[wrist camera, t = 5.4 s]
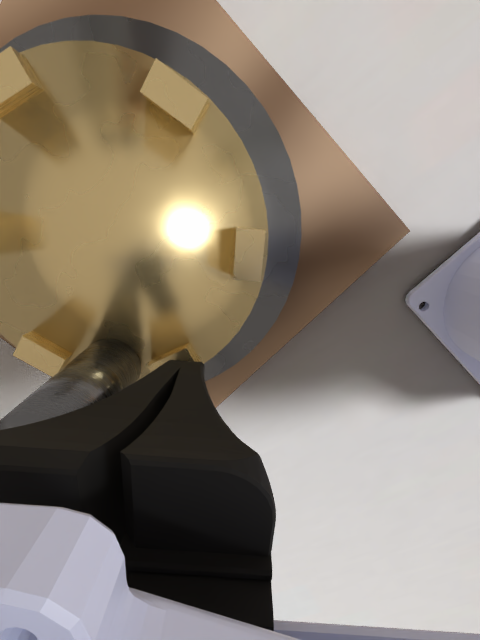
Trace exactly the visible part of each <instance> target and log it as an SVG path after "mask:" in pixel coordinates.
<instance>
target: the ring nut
mask: <svg viewBox="0 0 480 640" xmlns="http://www.w3.org/2000/svg"><path fill="white" fill-rule="evenodd" d="M267 256H268V222H267V211H266V206H265V201H264V197H263V192H262V187H261V184H260V181H259V179H258V176H257V173H256V170H255V167H254V164H253V162H252V160H251V158H250V156H249V154H248V152H247V150H246V148H245V146H244V144H243V142H242V140H241V139H240V137H239V136H238V134H237V133H236V131H235V130H234V128H233V127H232V125H231V124H230V122H229V121H228V119H227V118H226V117H225V115H224V114H223V113H222V112H221V111H220V110H219V109H218V107H217V106H216V105H215V104H214V103H213V102H212V100H211V99H210V98H209V97H208V96H207V95H205V94H204V93H203V92H202V91H201V90H200V89H199V88H198V87H196V86H195V85H194V84H193V83H192V82H191V81H190V80H188V79H187V78H185V77H184V76H183V75H181V74H180V73H178V72H177V71H175V70H174V69H172V68H171V67H169V66H168V65H166V64H164V63H162V62H161V61H159V60H158V59H157V58H156V59H154V58H152V57H150V56H148V55H146V54H144V53H141V52H138V51H135V50H132V49H129V48H126V47H123V46H119V45H115V44H109V43H103V42H97V41H61V42H55V43H49V44H43V45H39V46H36V47H33V48H31V49H28V50H25V51H22V52H18V51H17V50H15V49H14V48H13V47H11V46H10V47H8V48H7V49H5V50H4V51H2V52H1V53H0V334H1V335H2V336H4V337H5V338H6V339H7V340H8V341H9V342H10V343H12V344H13V345H14V346H16V349H15V351H14V354H13V356H15V357H17V358H18V359H20V360H22V361H24V362H26V363H28V364H29V365H31V366H33V367H35V368H37V369H39V370H40V371H42V372H44V373H46V374H48V375H50V376H51V377H52V378H50V379H49V380H48V381H47V382H46V383H44V384H43V385H42V386H41V387H40V388H38V389H37V390H36V391H35V392H34V393H32V394H31V395H30V396H29V397H28V398H26V399H25V400H24V401H23V402H22V403H20V404H19V405H18V406H17V407H16V408H14V409H13V410H12V411H11V412H10V413H8V414H7V415H6V416H5V417H4V418H2V419H1V420H0V430H3V429H8V428H13V427H18V426H23V425H27V424H31V423H35V422H39V421H42V420H46V419H50V418H53V417H56V416H60V415H63V414H66V413H69V412H72V411H74V410H77V409H80V408H83V407H85V406H88V405H91V404H93V403H96V402H98V401H100V400H102V399H105V398H107V397H109V396H111V395H113V394H115V393H117V392H119V391H121V390H123V389H124V388H126V387H128V386H129V385H131V384H133V383H135V382H136V381H138V380H140V379H141V378H143V377H144V376H146V375H147V374H149V373H151V372H152V371H154V370H155V369H157V368H158V367H159V366H161V365H162V364H164V363H165V362H167V361H169V360H181V361H196V362H202V363H203V364H204V363H205V362H207V361H208V360H210V359H211V358H213V357H214V356H215V355H216V354H217V353H219V352H220V351H221V350H222V349H223V348H224V347H225V346H226V345H227V344H228V343H229V342H230V341H231V340H232V338H233V337H234V336H235V335H236V334H237V332H238V331H239V330H240V329H241V327H242V326H243V324H244V322H245V321H246V319H247V318H248V316H249V314H250V313H251V310H252V308H253V306H254V304H255V302H256V299H257V297H258V295H259V292H260V288H261V285H262V282H263V278H264V274H265V268H266V262H267Z"/></svg>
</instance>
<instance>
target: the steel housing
mask: <svg viewBox="0 0 480 640" xmlns="http://www.w3.org/2000/svg"><path fill="white" fill-rule="evenodd" d="M61 41H97V42H103V43H109V44H115V45H119V46H123V47H126V48H129V49H132V50H135V51H138V52H141V53H144V54H146V55H148V56H150V57H152V58H154V59H156V58H157V59H158V60H159V61H161V62H162V63H164V64H166V65H168V66H169V67H171V68H172V69H174V70H175V71H177V72H178V73H180V74H181V75H183V76H184V77H185V78H187V79H188V80H190V81H191V82H192V83H193V84H194V85H195V86H196V87H198V88H199V89H200V90H201V91H202V92H203V93H204V94H205V95H207V96H208V97H209V98H210V99H211V100H212V102H213V103H214V104H215V105H216V106H217V107H218V109H219V110H220V111H221V112H222V113H223V114H224V115H225V117H226V118H227V119H228V121H229V122H230V124H231V125H232V127H233V128H234V130H235V131H236V133H237V134H238V136H239V137H240V139H241V140H242V142H243V144H244V146H245V148H246V150H247V152H248V154H249V156H250V158H251V160H252V162H253V164H254V167H255V170H256V173H257V176H258V179H259V181H260V184H261V187H262V192H263V197H264V201H265V206H266V211H267V222H268V256H267V262H266V268H265V274H264V278H263V282H262V285H261V288H260V292H259V295H258V297H257V299H256V302H255V304H254V306H253V308H252V310H251V313H250V314H249V316H248V318H247V319H246V321H245V322H244V324H243V326H242V327H241V329H240V330H239V331H238V332H237V334H236V335H235V336H234V337H233V338H232V340H231V341H230V342H229V343H228V344H227V345H226V346H225V347H224V348H223V349H222V350H221V351H220V352H219V353H217V354H216V355H215V356H214V357H213V358H211V359H210V360H208V361H207V362H205V363H204V365H205V369H204V380H205V381H207V380H209V379H211V378H213V377H215V376H218V375H219V374H221V373H223V372H224V371H226V370H227V369H229V368H231V367H232V366H234V365H235V364H237V363H238V362H239V361H240V360H241V359H243V358H244V357H245V356H246V355H247V354H249V353H250V352H251V351H252V350H253V349H254V348H255V347H256V346H257V344H258V343H259V342H260V341H261V340H262V339H263V338H264V337H265V335H266V334H267V333H268V331H269V330H270V328H271V327H272V326H273V324H274V323H275V321H276V320H277V318H278V316H279V314H280V312H281V310H282V309H283V307H284V305H285V303H286V301H287V298H288V295H289V293H290V290H291V287H292V285H293V282H294V278H295V274H296V270H297V266H298V261H299V255H300V245H301V236H302V234H301V207H300V201H299V194H298V187H297V183H296V179H295V175H294V172H293V168H292V165H291V161H290V158H289V156H288V153H287V151H286V149H285V146H284V144H283V141H282V139H281V137H280V134H279V132H278V131H277V129H276V127H275V125H274V124H273V122H272V120H271V119H270V117H269V115H268V113H267V112H266V110H265V108H264V107H263V106H262V104H261V103H260V102H259V100H258V99H257V98H256V97H255V95H254V94H253V93H252V91H251V90H250V89H249V87H248V86H247V85H246V84H245V83H244V82H243V81H242V80H241V79H240V78H239V77H238V76H237V75H236V74H235V73H234V72H233V71H232V70H231V69H230V68H229V67H228V66H227V65H226V64H225V63H223V62H222V61H221V60H219V59H218V58H217V57H215V56H214V55H213V54H211V53H210V52H209V51H208V50H206V49H205V48H204V47H202V46H200V45H199V44H197V43H195V42H193V41H191V40H190V39H188V38H186V37H184V36H182V35H181V34H179V33H177V32H175V31H172V30H169V29H167V28H164V27H161V26H159V25H156V24H153V23H151V22H147V21H143V20H138V19H133V18H129V17H124V16H113V15H84V16H76V17H68V18H63V19H59V20H56V21H53V22H49V23H46V24H43V25H39V26H37V27H35V28H33V29H31V30H29V31H27V32H25V33H23V34H21V35H19V36H17V37H15V38H14V39H12V40H11V41H10V42H8V43H7V44H6V45H4V46H3V47H2V48H0V53H1V52H2V51H4V50H5V49H7V48H8V47H10V46H11V47H13V48H14V49H15V50H17V51H18V52H22V51H25V50H28V49H31V48H33V47H36V46H39V45H43V44H49V43H55V42H61Z"/></svg>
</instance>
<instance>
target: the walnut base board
mask: <svg viewBox="0 0 480 640" xmlns="http://www.w3.org/2000/svg"><path fill="white" fill-rule="evenodd" d="M84 15H113V16H124V17H129V18H133V19H138V20H143V21H147V22H151V23H153V24H156V25H159V26H161V27H164V28H167V29H169V30H172V31H175V32H177V33H179V34H181V35H182V36H184V37H186V38H188V39H190V40H191V41H193V42H195V43H197V44H199V45H200V46H202V47H204V48H205V49H206V50H208V51H209V52H210V53H211V54H213V55H214V56H215V57H217V58H218V59H219V60H221V61H222V62H223V63H225V64H226V65H227V66H228V67H229V68H230V69H231V70H232V71H233V72H234V73H235V74H236V75H237V76H238V77H239V78H240V79H241V80H242V81H243V82H244V83H245V84H246V85H247V86H248V87H249V89H250V90H251V91H252V93H253V94H254V95H255V97H256V98H257V99H258V100H259V102H260V103H261V104H262V106H263V107H264V108H265V110H266V112H267V113H268V115H269V117H270V119H271V120H272V122H273V124H274V125H275V127H276V129H277V131H278V132H279V134H280V137H281V139H282V141H283V144H284V146H285V149H286V151H287V153H288V156H289V158H290V161H291V165H292V168H293V172H294V175H295V179H296V183H297V187H298V194H299V201H300V207H301V234H302V236H301V245H300V255H299V261H298V266H297V270H296V274H295V278H294V282H293V285H292V287H291V290H290V293H289V295H288V298H287V301H286V303H285V305H284V307H283V309H282V310H281V312H280V314H279V316H278V318H277V320H276V321H275V323H274V324H273V326H272V327H271V328H270V330H269V331H268V333H267V334H266V335H265V337H264V338H263V339H262V340H261V341H260V342H259V343H258V344H257V346H256V347H255V348H254V349H253V350H252V351H251V352H250V353H249V354H247V355H246V356H245V357H244V358H243V359H241V360H240V361H239V362H238V363H237V364H235V365H234V366H232V367H231V368H229V369H227V370H226V371H224V372H223V373H221V374H219V375H218V376H215V377H213V378H211V379H209V380H207V381H205V383H206V387H207V390H208V393H209V395H210V398H211V400H212V402H213V404H214V406H215V408H216V407H217V406H218V405H219V404H220V403H222V402H223V401H224V400H225V399H226V398H227V397H228V396H229V395H230V394H231V393H233V392H234V391H235V390H236V389H237V388H238V387H239V386H240V385H241V384H242V383H244V382H245V381H246V380H247V379H248V378H249V377H250V376H251V375H252V374H253V373H255V372H256V371H257V370H258V369H259V368H260V367H261V366H262V365H263V364H264V363H266V362H267V361H268V360H269V359H270V358H271V357H272V356H273V355H274V354H275V353H277V352H278V351H279V350H280V349H281V348H282V347H283V346H284V345H285V344H286V343H288V342H289V341H290V340H291V339H292V338H293V337H294V336H295V335H296V334H297V333H299V332H300V331H301V330H302V329H303V328H304V327H305V326H306V325H307V324H308V323H310V322H311V321H312V320H313V319H314V318H315V317H316V316H317V315H318V314H319V313H321V312H322V311H323V310H324V309H325V308H326V307H327V306H328V305H329V304H330V303H332V302H333V301H334V300H335V299H336V298H337V297H338V296H339V295H340V294H342V293H343V292H344V291H345V290H346V289H347V288H348V287H349V286H350V285H351V284H353V283H354V282H355V281H356V280H357V279H358V278H359V277H360V276H361V275H362V274H364V273H365V272H366V271H367V270H368V269H369V268H370V267H371V266H372V265H373V264H375V263H376V262H377V261H378V260H379V259H380V258H381V257H382V256H383V255H384V254H386V253H387V252H388V251H389V250H390V249H391V248H392V247H393V246H394V245H395V244H397V243H398V242H399V241H400V240H401V239H402V238H403V237H404V236H405V235H406V234H408V233H409V232H410V230H409V229H408V228H407V227H406V225H405V224H404V223H403V222H402V221H401V220H400V218H399V217H398V216H397V215H396V214H395V212H394V211H393V210H392V209H391V208H390V206H389V205H388V204H387V203H386V202H385V201H384V199H383V198H382V197H381V196H380V195H379V193H378V192H377V191H376V190H375V189H374V187H373V186H372V185H371V184H370V183H369V181H368V180H367V179H366V178H365V177H364V176H363V174H362V173H361V172H360V171H359V170H358V168H357V167H356V166H355V165H354V164H353V162H352V161H351V160H350V159H349V158H348V157H347V155H346V154H345V153H344V152H343V151H342V149H341V148H340V147H339V146H338V145H337V143H336V142H335V141H334V140H333V139H332V137H331V136H330V135H329V134H328V133H327V132H326V130H325V129H324V128H323V127H322V126H321V124H320V123H319V122H318V121H317V120H316V118H315V117H314V116H313V115H312V114H311V112H310V111H309V110H308V109H307V108H306V107H305V105H304V104H303V103H302V102H301V101H300V99H299V98H298V97H297V96H296V95H295V93H294V92H293V91H292V90H291V89H290V88H289V86H288V85H287V84H286V83H285V82H284V80H283V79H282V78H281V77H280V76H279V74H278V73H277V72H276V71H275V70H274V68H273V67H272V66H271V65H270V64H269V63H268V61H267V60H266V59H265V58H264V57H263V55H262V54H261V53H260V52H259V51H258V49H257V48H256V47H255V46H254V45H253V44H252V42H251V41H250V40H249V39H248V38H247V36H246V35H245V34H244V33H243V32H242V30H241V29H240V28H239V27H238V26H237V24H236V23H235V22H234V21H233V20H232V19H231V17H230V16H229V15H228V14H227V13H226V11H225V10H224V9H223V8H222V7H221V5H220V4H219V3H218V2H217V1H216V0H2V1H1V3H0V48H2V47H3V46H4V45H6V44H7V43H8V42H10V41H11V40H12V39H14V38H15V37H17V36H19V35H21V34H23V33H25V32H27V31H29V30H31V29H33V28H35V27H37V26H39V25H43V24H46V23H49V22H53V21H56V20H59V19H63V18H68V17H76V16H84ZM0 337H1V338H2V339H3V340H5V341H6V342H7V343H9V344H10V345H12V346H13V347H14V348H16V346H14V345H13V344H12V343H10V342H9V341H8V340H7V339H6V338H5V337H4V336H2V335H1V334H0Z"/></svg>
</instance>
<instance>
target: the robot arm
mask: <svg viewBox="0 0 480 640" xmlns="http://www.w3.org/2000/svg"><path fill="white" fill-rule="evenodd" d="M405 301H406V304H407V305H408V306H409V307H410V309H411V310H412V311H413V312H414V313H415V314H416V315H417V316H418V317H419V318H420V320H421V321H422V322H423V323H424V324H425V325H426V326H427V327H428V328H429V329H430V331H431V332H432V333H433V334H434V335H435V336H436V337H437V338H438V339H439V341H440V342H441V343H442V344H443V345H444V346H445V347H446V348H447V349H448V350H449V352H450V353H451V354H452V355H453V356H454V357H455V358H456V359H457V360H458V361H459V363H460V364H461V365H462V366H463V367H464V368H465V369H466V370H467V371H468V372H469V374H470V375H471V376H472V377H473V378H474V379H475V380H476V381H477V382H478V384H479V385H480V232H479V233H478V234H477V235H476V236H474V237H473V238H472V239H471V240H470V241H468V242H467V243H466V244H465V245H464V246H463V247H461V248H460V249H459V250H458V251H457V252H456V253H454V254H453V255H452V256H451V257H450V258H449V259H447V260H446V261H445V262H444V263H443V264H441V265H440V266H439V267H438V268H437V269H436V270H434V271H433V272H432V273H431V274H430V275H429V276H427V277H426V278H425V279H424V280H423V281H422V282H420V283H419V284H418V285H417V286H416V287H414V288H413V289H412V290H411V291H410V292H409V293H408V294H407V295H406V298H405ZM422 302H425V306H424V307H423V308H422V309H419V305H420V304H421V303H422ZM204 369H205V365H204V364H203V363H202V362H196V361H181V360H169V361H167V362H165V363H164V364H162V365H161V366H159V367H158V368H157V369H155V370H154V371H152V372H151V373H149V374H147V375H146V376H144V377H143V378H141V379H140V380H138V381H136V382H135V383H133V384H131V385H129V386H128V387H126V388H124V389H123V390H121V391H119V392H117V393H115V394H113V395H111V396H109V397H107V398H105V399H102V400H100V401H98V402H96V403H93V404H91V405H88V406H85V407H83V408H80V409H77V410H74V411H72V412H69V413H66V414H63V415H60V416H56V417H53V418H50V419H46V420H42V421H39V422H35V423H31V424H27V425H23V426H18V427H13V428H8V429H3V430H0V640H480V634H472V633H457V632H442V631H427V630H412V629H397V628H382V627H367V626H352V625H337V624H322V623H307V622H292V621H277V620H273V605H272V590H271V580H272V561H271V550H272V542H273V535H274V528H275V521H276V509H275V502H274V497H273V493H272V489H271V486H270V482H269V479H268V476H267V473H266V470H265V468H264V465H263V463H262V460H261V458H260V456H259V454H258V453H256V452H255V451H254V450H253V449H251V448H250V447H249V446H247V445H246V444H245V443H243V442H242V441H241V440H240V439H239V438H238V437H237V436H235V434H234V433H233V432H232V431H231V430H230V428H229V427H228V426H227V425H226V424H225V422H224V421H223V419H222V418H221V416H220V415H219V413H218V412H217V410H216V408H215V406H214V404H213V402H212V400H211V398H210V395H209V393H208V390H207V387H206V383H205V380H204Z"/></svg>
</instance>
